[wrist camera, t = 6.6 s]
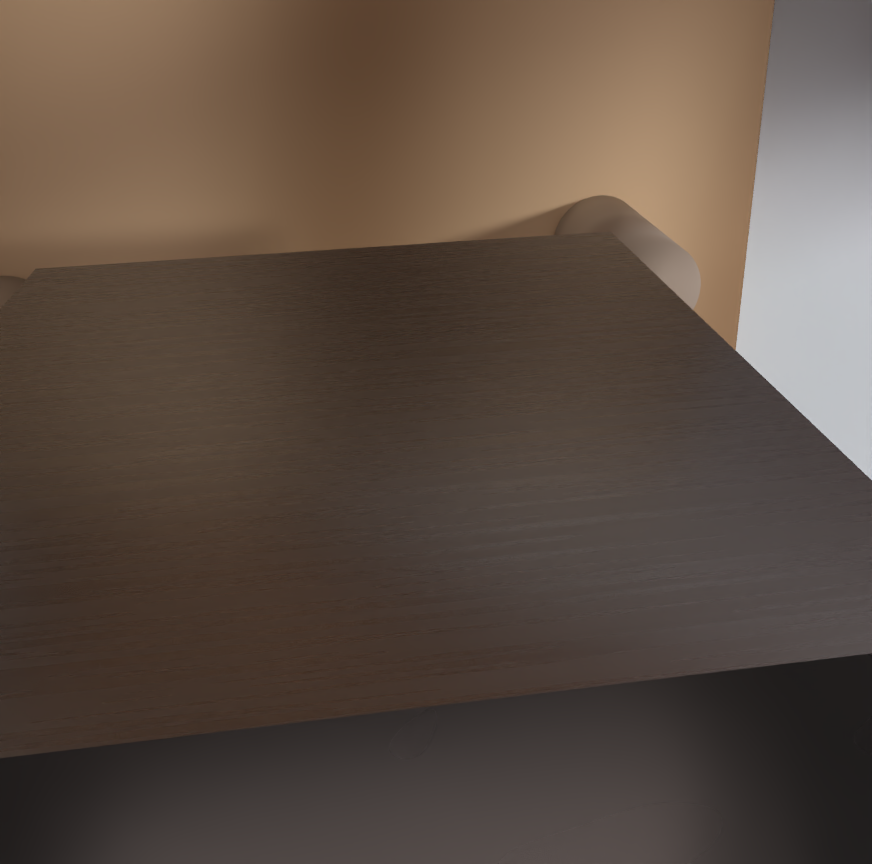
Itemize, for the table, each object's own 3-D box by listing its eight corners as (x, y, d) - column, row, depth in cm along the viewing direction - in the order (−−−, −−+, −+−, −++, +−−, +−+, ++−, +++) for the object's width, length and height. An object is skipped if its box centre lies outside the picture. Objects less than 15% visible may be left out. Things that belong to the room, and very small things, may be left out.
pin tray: (773, -422, 8) (978, -588, 6) (667, 771, 19) (722, 899, 16) (-435, -316, 8) (-814, -454, 5) (153, 863, 18) (128, 1013, 16)
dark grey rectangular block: (610, 230, 7) (1034, 635, 3) (553, 865, 12) (676, 1341, 8) (35, 268, 7) (-447, 810, 2) (226, 911, 12) (176, 1442, 8)
